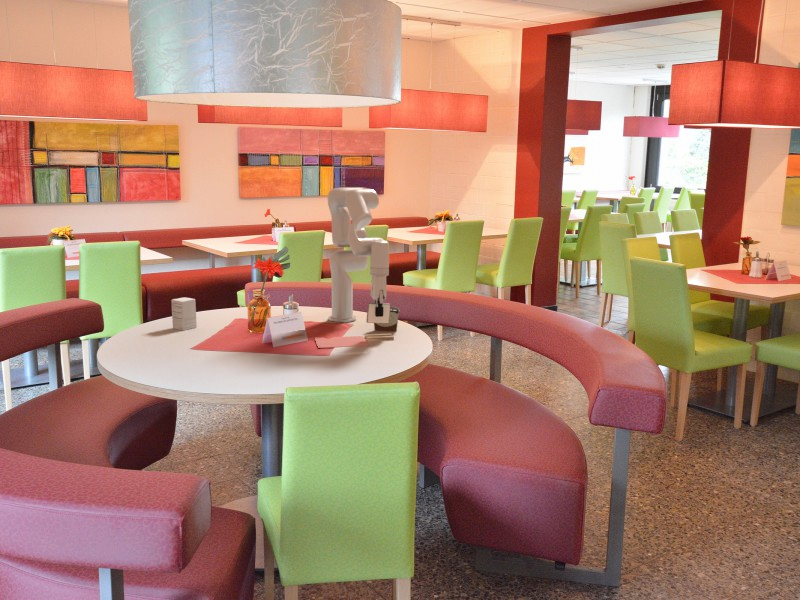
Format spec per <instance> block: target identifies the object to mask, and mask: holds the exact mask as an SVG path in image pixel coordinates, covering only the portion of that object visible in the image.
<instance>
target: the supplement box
mask: <svg viewBox="0 0 800 600" xmlns="http://www.w3.org/2000/svg"><path fill="white" fill-rule="evenodd" d="M170 302H171V317H172V318H171V319H172V328H173V329H175V330H179V331H187V330H191V329H195V328H197V307H196V304H197V303H196V299H195V298H191V297H186V296H185V297H179V298H173V299H171V301H170Z"/></svg>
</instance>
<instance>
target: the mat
mask: <svg viewBox="0 0 800 600" xmlns="http://www.w3.org/2000/svg"><path fill="white" fill-rule="evenodd" d="M332 337H333V338H330V339H326V338H324V337H314V338H315V339H314V342H315V341H316V342H315V344H316V346H318V347H317V349H318V348H325V349H334V348H346V347H348V348H350V347H352V348H353V347H369V346H370V344H369V343H368V341H367V340H366V339H365V336H363V335H356V336H352V335H351V336H332Z"/></svg>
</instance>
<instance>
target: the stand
mask: <svg viewBox="0 0 800 600" xmlns="http://www.w3.org/2000/svg"><path fill="white" fill-rule="evenodd" d="M394 337H395V336H393V333H374V334H372V333H371V334H364V339H365V340H366V342H379V341H380V342H381V341H394V340H395V338H394Z"/></svg>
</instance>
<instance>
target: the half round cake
mask: <svg viewBox="0 0 800 600" xmlns="http://www.w3.org/2000/svg"><path fill="white" fill-rule="evenodd" d="M400 314H401V311H400V308H399V307H396V306H390V316H389V324H386V323H373V327H374V332H376V331H377V332H378V331H379V332H398V323H399V315H400Z"/></svg>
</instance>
